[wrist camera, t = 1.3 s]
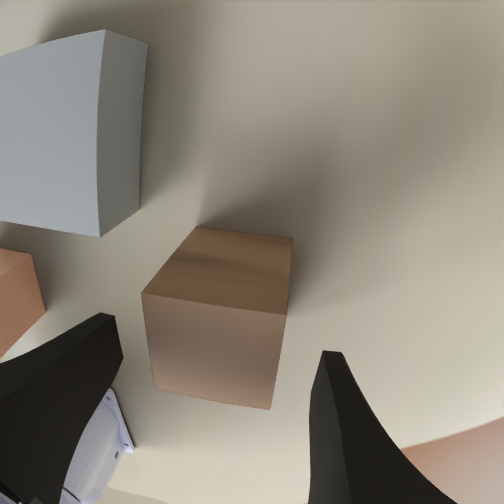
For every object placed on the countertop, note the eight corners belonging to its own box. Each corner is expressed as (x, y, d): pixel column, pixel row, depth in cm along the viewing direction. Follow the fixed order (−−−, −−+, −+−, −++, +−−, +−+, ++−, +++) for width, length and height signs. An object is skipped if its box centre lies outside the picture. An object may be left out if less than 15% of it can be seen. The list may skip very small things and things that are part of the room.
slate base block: (142, 207, 15) (99, 237, 12) (31, 195, 16) (-15, 217, 12) (151, 45, 12) (105, 29, 8) (31, 64, 13) (-20, 64, 9)
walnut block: (281, 319, 17) (270, 409, 11) (196, 307, 17) (155, 388, 12) (292, 238, 15) (286, 315, 9) (195, 226, 15) (141, 292, 10)
